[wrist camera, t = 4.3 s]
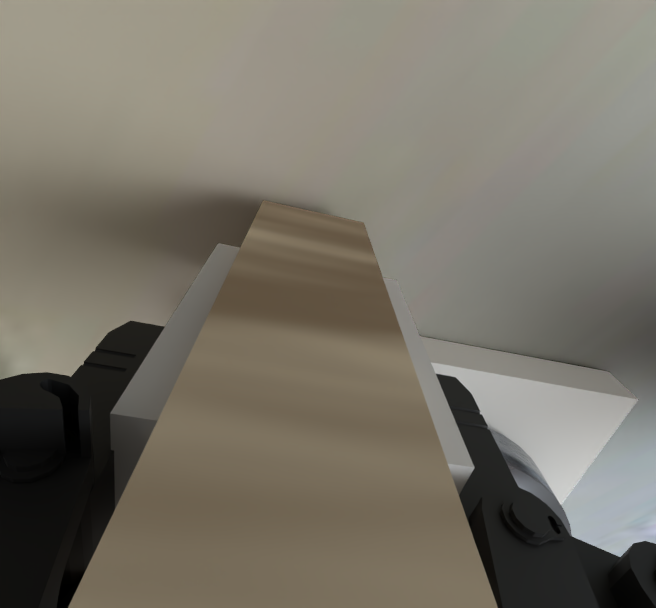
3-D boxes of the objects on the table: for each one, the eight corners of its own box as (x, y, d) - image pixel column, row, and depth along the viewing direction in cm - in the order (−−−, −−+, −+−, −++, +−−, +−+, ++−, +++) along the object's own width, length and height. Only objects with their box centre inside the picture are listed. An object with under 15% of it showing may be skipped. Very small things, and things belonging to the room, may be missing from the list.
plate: (229, 300, 17) (216, 331, 15) (609, 371, 19) (646, 407, 17) (194, 556, 25) (182, 601, 23) (466, 585, 27) (480, 628, 25)
